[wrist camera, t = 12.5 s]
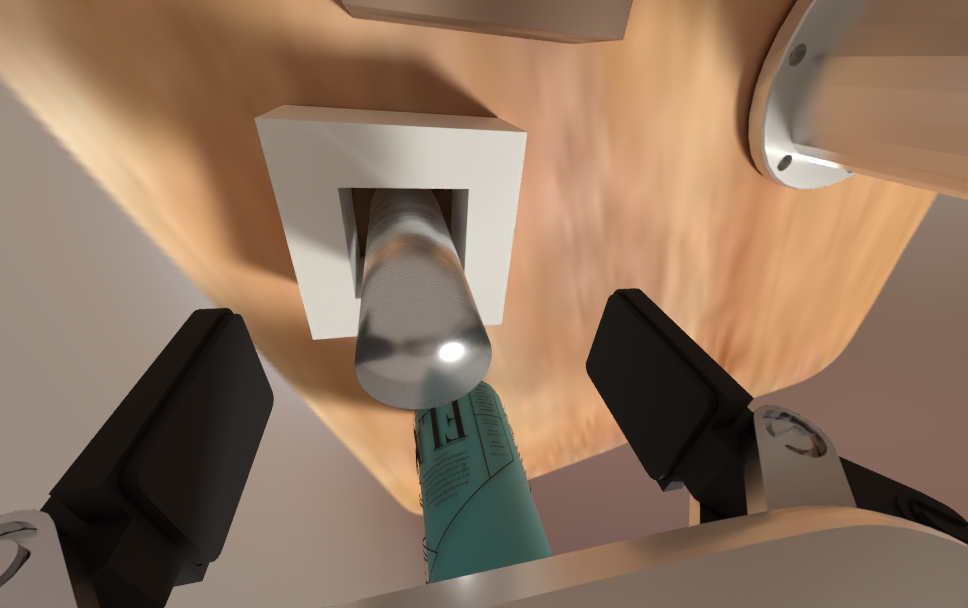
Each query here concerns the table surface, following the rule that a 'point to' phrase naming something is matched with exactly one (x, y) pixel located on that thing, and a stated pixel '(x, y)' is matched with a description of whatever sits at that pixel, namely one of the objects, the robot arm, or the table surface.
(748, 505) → the robot arm
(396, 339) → the steel peg
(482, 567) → the beverage bottle
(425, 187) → the block
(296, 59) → the table surface
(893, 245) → the table surface
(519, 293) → the table surface
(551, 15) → the socket block
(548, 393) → the table surface
